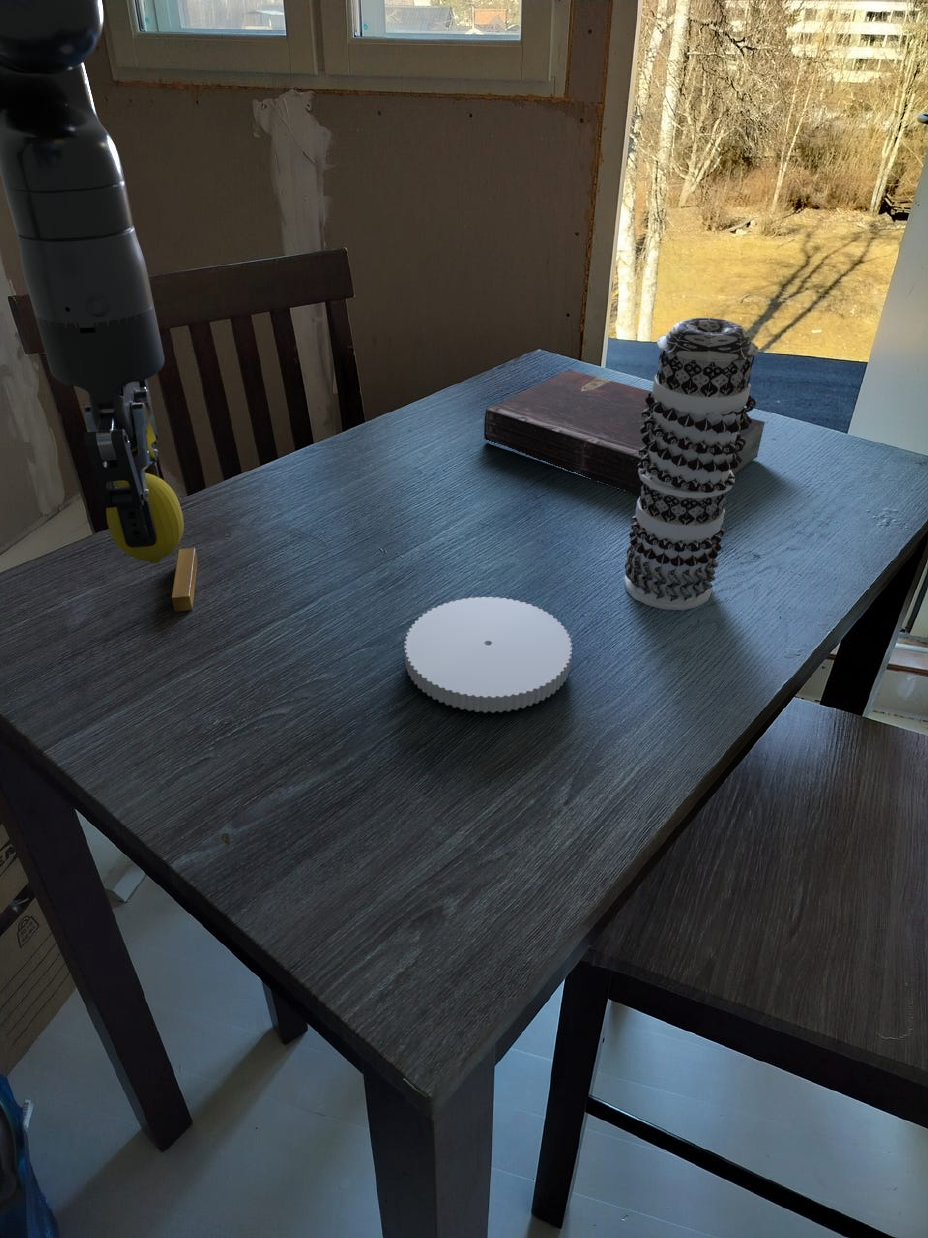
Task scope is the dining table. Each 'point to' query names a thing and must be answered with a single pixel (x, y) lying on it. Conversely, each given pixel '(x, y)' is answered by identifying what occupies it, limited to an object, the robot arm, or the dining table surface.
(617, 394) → the hardback book
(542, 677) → the white gear wheel
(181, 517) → the lemon
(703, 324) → the decorative candle
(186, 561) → the block
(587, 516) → the dining table surface
